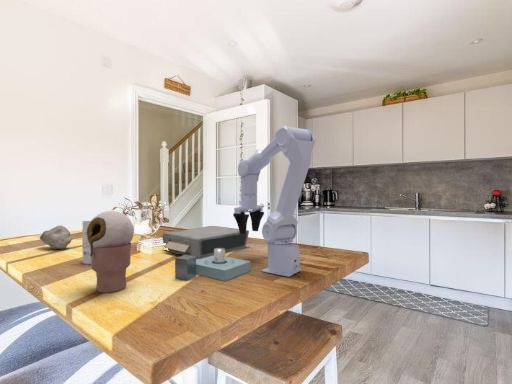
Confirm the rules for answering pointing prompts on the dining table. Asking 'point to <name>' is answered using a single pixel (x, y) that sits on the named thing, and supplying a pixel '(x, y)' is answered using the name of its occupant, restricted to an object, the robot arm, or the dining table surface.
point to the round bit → (219, 256)
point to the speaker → (204, 240)
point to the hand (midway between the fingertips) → (249, 232)
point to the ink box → (86, 244)
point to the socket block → (222, 268)
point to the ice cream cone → (110, 249)
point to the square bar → (185, 267)
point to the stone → (57, 237)
